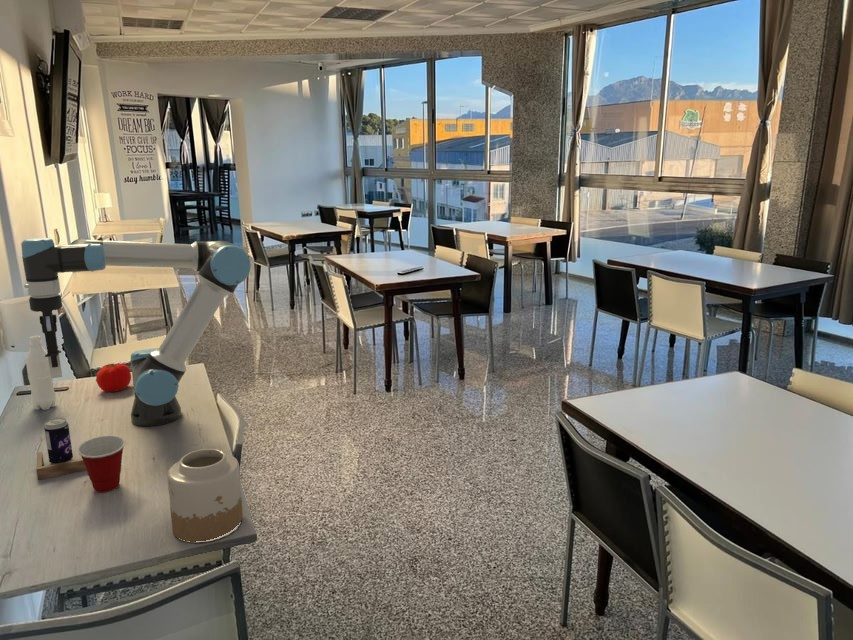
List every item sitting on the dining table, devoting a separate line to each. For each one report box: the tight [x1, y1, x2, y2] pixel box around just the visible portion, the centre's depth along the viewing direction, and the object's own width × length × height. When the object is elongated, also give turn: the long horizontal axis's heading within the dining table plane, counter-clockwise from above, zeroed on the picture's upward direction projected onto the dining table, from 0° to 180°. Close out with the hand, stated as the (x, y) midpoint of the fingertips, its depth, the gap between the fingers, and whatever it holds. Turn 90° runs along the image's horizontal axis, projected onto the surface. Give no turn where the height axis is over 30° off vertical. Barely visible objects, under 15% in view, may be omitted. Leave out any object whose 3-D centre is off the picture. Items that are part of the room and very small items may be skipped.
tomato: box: [95, 361, 132, 393], centre depth 223 cm, size 11×13×10 cm
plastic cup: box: [76, 434, 126, 493], centre depth 154 cm, size 11×11×12 cm
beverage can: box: [44, 417, 74, 465], centre depth 167 cm, size 6×6×12 cm
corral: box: [35, 451, 87, 481], centre depth 166 cm, size 12×11×3 cm
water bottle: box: [25, 335, 57, 411], centre depth 204 cm, size 7×7×25 cm
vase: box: [167, 448, 244, 542], centre depth 138 cm, size 15×15×17 cm
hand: (56, 376), depth 172 cm, fingers closed
